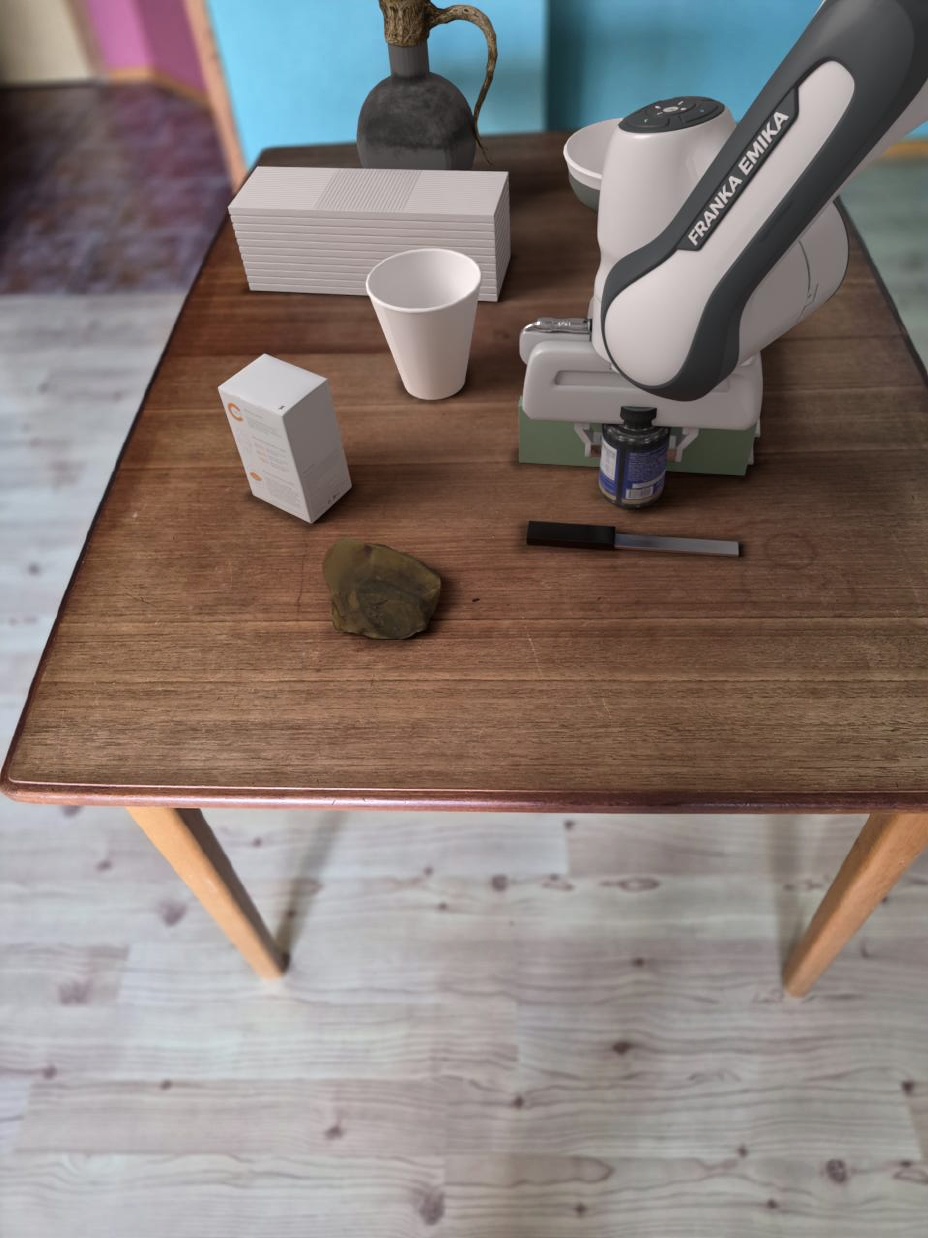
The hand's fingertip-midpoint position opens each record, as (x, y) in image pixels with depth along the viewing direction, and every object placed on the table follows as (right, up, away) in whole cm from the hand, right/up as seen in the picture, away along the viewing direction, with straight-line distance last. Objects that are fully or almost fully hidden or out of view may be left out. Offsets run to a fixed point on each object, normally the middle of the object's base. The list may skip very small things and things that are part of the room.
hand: (633, 455), depth 82 cm
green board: (+1, 0, +6) cm, 6 cm away
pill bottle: (0, -3, +3) cm, 4 cm away
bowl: (+7, +40, +39) cm, 57 cm away
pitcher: (-20, +42, +42) cm, 63 cm away
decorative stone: (-23, -13, -3) cm, 27 cm away
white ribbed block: (-26, +29, +32) cm, 51 cm away
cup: (-19, +11, +17) cm, 28 cm away
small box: (-32, -3, +7) cm, 32 cm away
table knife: (-1, -8, 0) cm, 8 cm away
